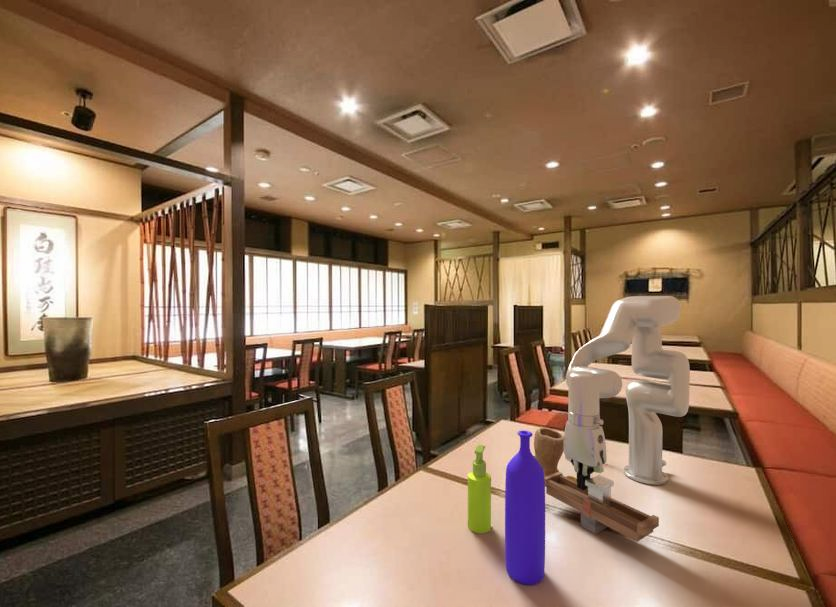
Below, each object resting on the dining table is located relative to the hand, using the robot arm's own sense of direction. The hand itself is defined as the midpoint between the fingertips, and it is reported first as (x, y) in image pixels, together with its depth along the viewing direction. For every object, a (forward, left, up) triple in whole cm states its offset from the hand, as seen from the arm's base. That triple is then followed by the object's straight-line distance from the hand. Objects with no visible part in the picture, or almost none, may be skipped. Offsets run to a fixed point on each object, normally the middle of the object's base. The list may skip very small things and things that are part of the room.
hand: (583, 487), depth 99 cm
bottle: (+28, +5, -9) cm, 30 cm away
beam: (0, +3, -9) cm, 9 cm away
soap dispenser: (+25, -13, -9) cm, 29 cm away
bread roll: (-11, -11, -9) cm, 18 cm away
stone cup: (-13, -24, -9) cm, 28 cm away
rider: (0, +5, -2) cm, 5 cm away
